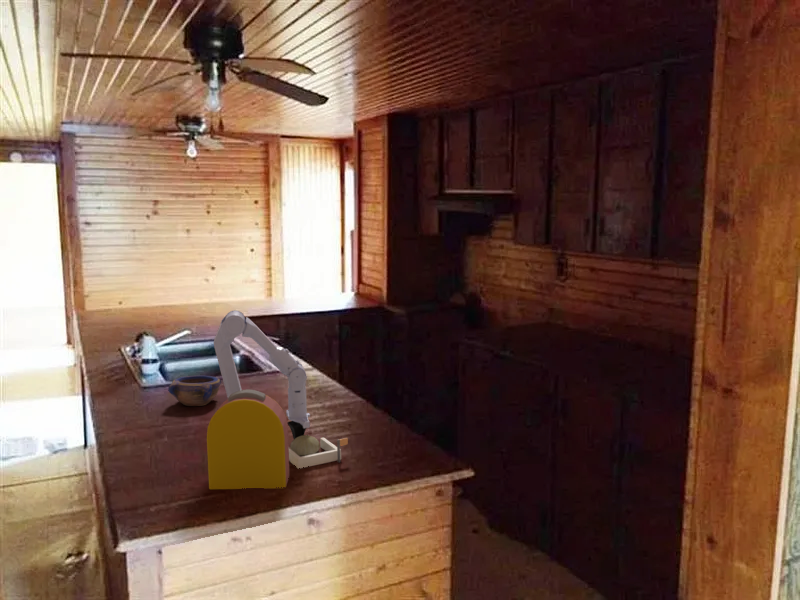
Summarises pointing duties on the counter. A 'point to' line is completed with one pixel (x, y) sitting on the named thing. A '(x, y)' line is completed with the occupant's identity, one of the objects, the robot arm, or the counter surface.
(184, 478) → the counter surface
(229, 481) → the yellow arched block
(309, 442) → the sea urchin shell
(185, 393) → the bowl
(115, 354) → the counter surface
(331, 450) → the shallow white tray
